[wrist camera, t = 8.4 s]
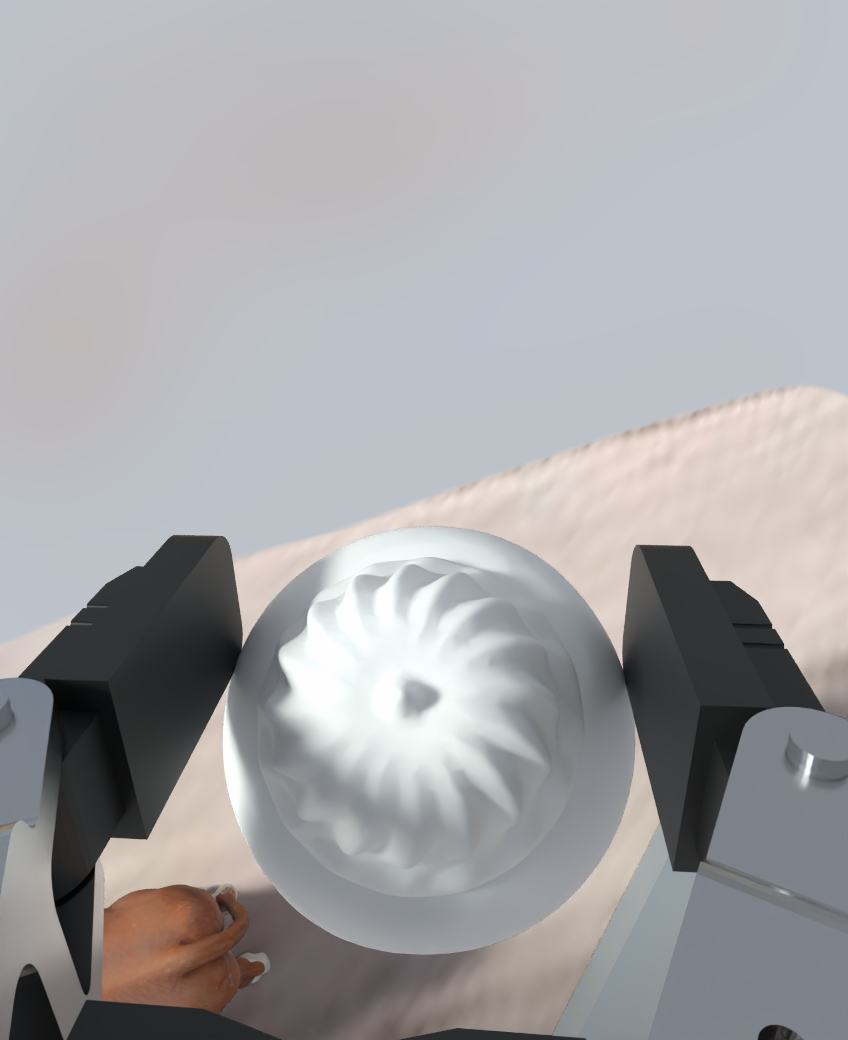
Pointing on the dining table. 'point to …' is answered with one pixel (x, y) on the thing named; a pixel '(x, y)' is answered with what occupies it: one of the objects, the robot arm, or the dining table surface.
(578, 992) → the grey pegged tray
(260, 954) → the bull figurine
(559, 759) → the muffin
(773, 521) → the dining table surface
